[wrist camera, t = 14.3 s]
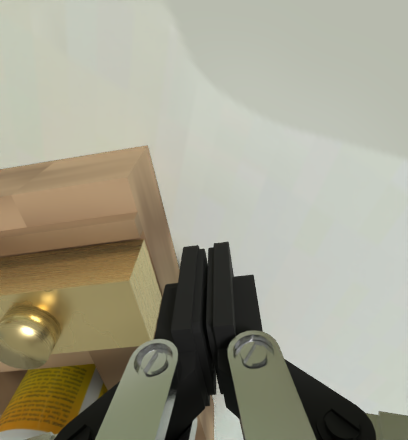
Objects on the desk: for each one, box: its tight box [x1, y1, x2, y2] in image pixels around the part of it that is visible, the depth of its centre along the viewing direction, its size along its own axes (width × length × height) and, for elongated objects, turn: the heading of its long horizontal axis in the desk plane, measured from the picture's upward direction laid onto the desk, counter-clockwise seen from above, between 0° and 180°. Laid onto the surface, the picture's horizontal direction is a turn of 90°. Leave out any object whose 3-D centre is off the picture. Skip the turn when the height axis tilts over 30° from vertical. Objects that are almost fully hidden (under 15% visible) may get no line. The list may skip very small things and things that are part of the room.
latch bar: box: [0, 239, 162, 369], centre depth 12 cm, size 3×8×4 cm, turn 100°
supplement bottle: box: [0, 364, 108, 440], centre depth 18 cm, size 5×5×10 cm
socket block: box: [0, 146, 214, 440], centre depth 18 cm, size 20×16×7 cm
